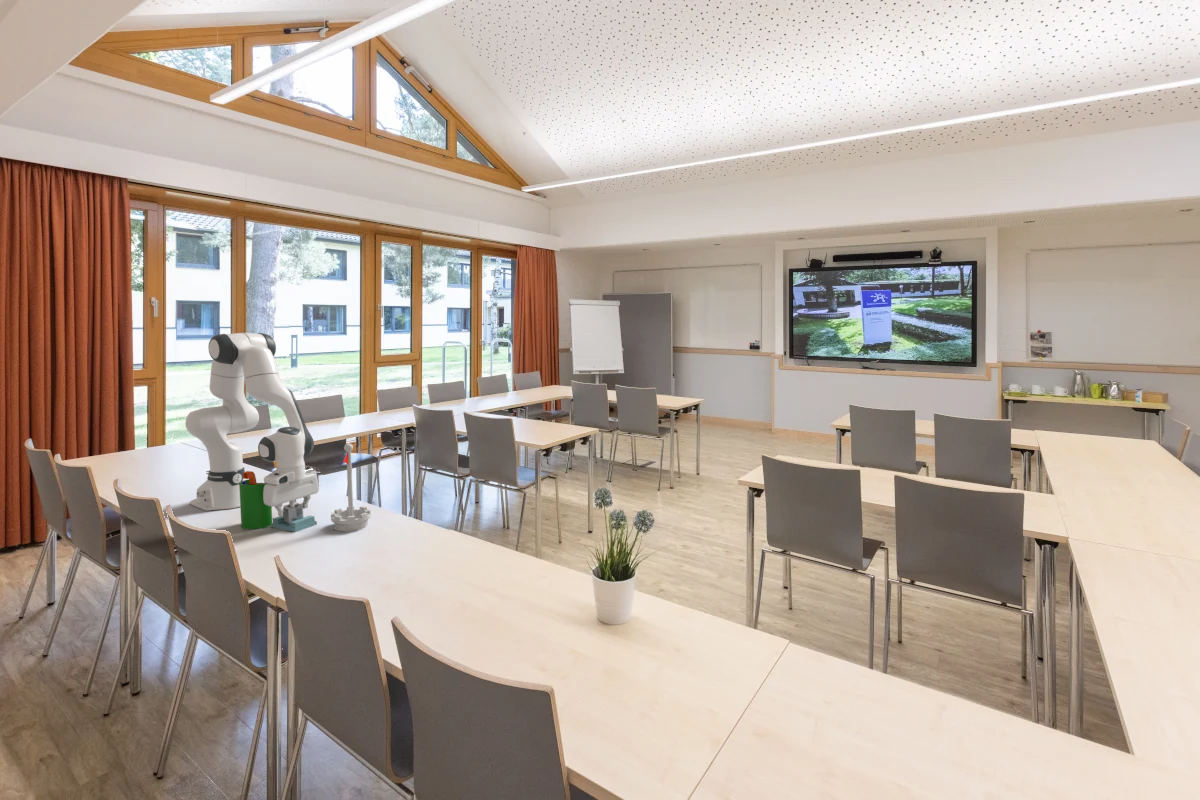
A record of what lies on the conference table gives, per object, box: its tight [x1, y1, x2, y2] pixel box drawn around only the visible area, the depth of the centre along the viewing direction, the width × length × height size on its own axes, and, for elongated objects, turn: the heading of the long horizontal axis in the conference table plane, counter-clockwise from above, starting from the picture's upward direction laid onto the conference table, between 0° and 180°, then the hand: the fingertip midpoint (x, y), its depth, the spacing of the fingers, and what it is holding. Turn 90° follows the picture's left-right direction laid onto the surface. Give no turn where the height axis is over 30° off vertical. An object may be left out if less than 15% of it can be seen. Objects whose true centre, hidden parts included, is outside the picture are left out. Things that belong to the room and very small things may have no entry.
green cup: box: [239, 470, 273, 530], centre depth 218 cm, size 10×9×20 cm
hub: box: [282, 502, 304, 523], centre depth 219 cm, size 6×6×5 cm
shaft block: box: [270, 499, 318, 533], centre depth 219 cm, size 12×9×10 cm
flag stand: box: [330, 442, 372, 532], centre depth 218 cm, size 13×13×30 cm
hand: (293, 511), depth 219 cm, fingers open, 8 cm apart
